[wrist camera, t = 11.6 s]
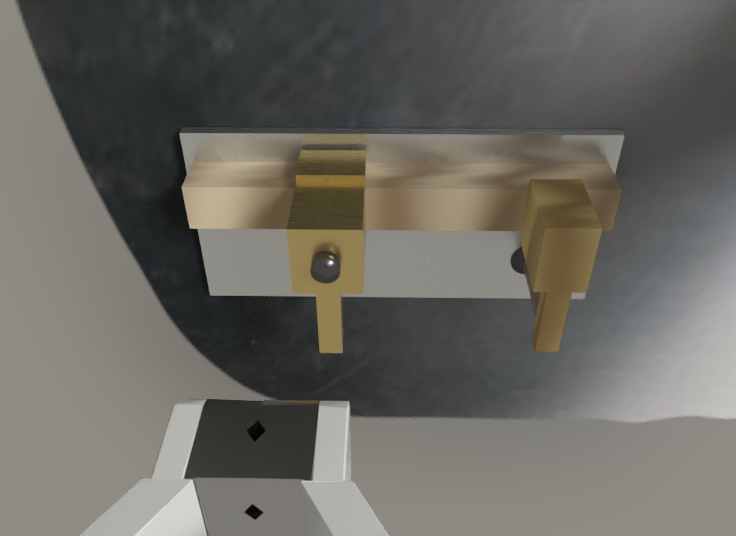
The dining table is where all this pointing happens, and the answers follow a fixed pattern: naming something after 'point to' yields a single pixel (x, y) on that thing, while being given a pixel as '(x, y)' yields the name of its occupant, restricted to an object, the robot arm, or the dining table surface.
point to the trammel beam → (445, 213)
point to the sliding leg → (328, 235)
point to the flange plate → (390, 247)
